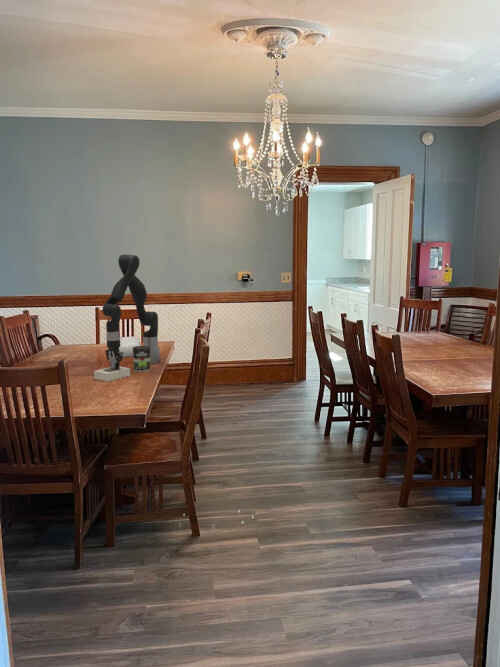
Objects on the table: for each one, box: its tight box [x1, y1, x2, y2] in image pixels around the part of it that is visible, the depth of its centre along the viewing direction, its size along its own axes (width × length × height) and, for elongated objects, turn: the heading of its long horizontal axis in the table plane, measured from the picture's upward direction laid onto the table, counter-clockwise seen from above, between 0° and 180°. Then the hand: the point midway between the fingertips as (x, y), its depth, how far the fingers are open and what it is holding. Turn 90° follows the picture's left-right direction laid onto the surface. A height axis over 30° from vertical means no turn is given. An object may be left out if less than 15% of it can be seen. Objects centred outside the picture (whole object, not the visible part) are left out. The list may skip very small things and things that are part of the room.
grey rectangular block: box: [105, 356, 119, 372], centre depth 293 cm, size 6×4×9 cm, turn 142°
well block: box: [93, 365, 131, 382], centre depth 294 cm, size 16×12×4 cm
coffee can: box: [132, 345, 152, 373], centre depth 311 cm, size 10×10×14 cm
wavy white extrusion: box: [119, 336, 142, 358], centre depth 361 cm, size 35×16×11 cm, turn 21°
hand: (114, 368), depth 296 cm, fingers closed on grey rectangular block, 4 cm apart
